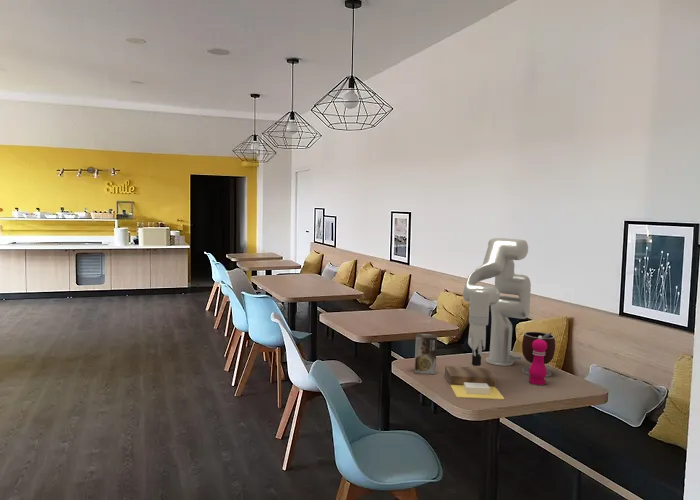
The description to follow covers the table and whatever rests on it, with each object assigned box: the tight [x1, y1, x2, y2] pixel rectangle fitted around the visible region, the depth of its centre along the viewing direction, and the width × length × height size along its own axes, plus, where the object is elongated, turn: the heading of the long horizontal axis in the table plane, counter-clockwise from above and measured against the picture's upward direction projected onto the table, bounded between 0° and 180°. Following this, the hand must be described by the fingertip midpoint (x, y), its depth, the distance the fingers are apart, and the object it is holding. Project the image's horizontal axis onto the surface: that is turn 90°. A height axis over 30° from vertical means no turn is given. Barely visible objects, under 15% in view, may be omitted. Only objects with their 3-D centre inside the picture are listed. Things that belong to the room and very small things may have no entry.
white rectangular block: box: [463, 382, 490, 395], centre depth 215 cm, size 9×6×2 cm, turn 89°
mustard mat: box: [449, 384, 506, 401], centre depth 215 cm, size 18×14×1 cm
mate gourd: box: [521, 331, 556, 378], centre depth 244 cm, size 16×14×20 cm
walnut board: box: [444, 365, 496, 387], centre depth 229 cm, size 18×14×4 cm
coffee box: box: [413, 333, 438, 375], centre depth 240 cm, size 9×6×16 cm
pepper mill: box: [528, 336, 548, 386], centre depth 230 cm, size 7×7×20 cm
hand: (476, 365), depth 219 cm, fingers closed
